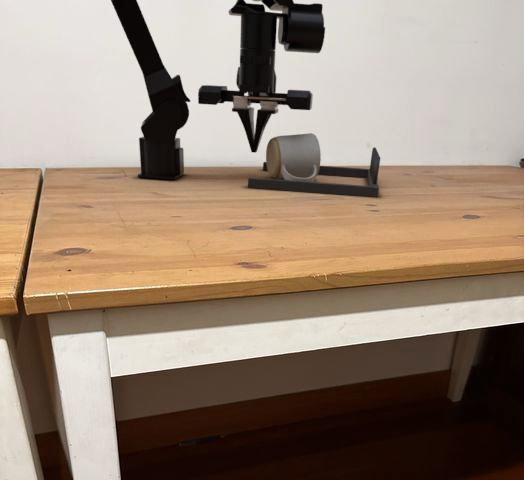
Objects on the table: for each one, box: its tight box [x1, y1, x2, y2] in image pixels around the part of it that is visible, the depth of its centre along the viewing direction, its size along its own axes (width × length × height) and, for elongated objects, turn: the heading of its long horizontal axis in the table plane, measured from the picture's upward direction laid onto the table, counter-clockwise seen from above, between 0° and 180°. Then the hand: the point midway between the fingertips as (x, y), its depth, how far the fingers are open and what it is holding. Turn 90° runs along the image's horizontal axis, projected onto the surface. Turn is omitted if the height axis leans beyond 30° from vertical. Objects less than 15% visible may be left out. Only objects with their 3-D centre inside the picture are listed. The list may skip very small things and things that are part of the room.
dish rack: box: [247, 146, 381, 198], centre depth 91 cm, size 21×19×6 cm
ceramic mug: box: [265, 132, 322, 182], centre depth 91 cm, size 11×8×8 cm
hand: (254, 152), depth 92 cm, fingers closed
